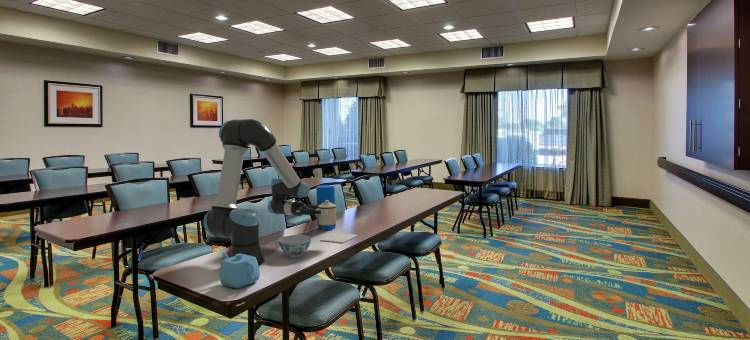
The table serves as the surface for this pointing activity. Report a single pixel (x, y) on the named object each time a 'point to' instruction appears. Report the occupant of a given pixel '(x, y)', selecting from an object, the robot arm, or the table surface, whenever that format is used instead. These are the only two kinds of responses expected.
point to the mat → (339, 238)
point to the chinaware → (294, 244)
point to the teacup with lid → (331, 216)
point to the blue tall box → (324, 194)
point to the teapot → (239, 270)
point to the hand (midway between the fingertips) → (332, 210)
